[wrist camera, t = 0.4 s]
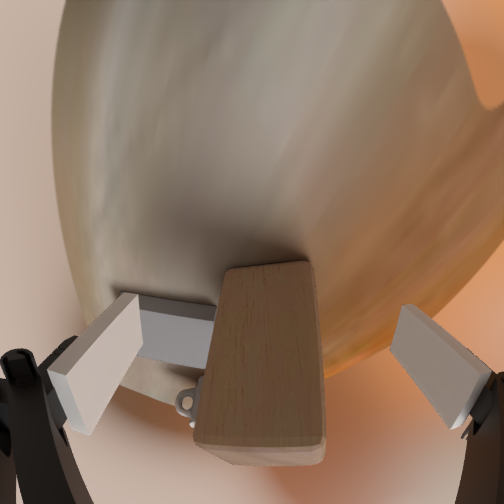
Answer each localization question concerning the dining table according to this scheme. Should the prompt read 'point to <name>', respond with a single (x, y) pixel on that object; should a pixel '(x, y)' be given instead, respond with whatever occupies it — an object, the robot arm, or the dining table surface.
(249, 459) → the block
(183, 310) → the stand
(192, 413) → the coffee mug
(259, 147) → the dining table surface
